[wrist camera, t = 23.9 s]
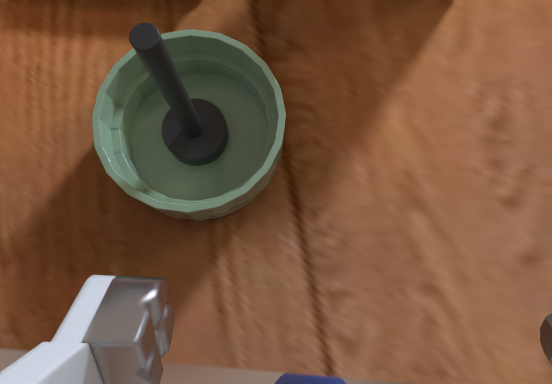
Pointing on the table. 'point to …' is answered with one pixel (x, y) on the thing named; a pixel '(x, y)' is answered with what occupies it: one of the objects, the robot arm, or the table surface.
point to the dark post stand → (180, 104)
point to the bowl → (153, 107)
